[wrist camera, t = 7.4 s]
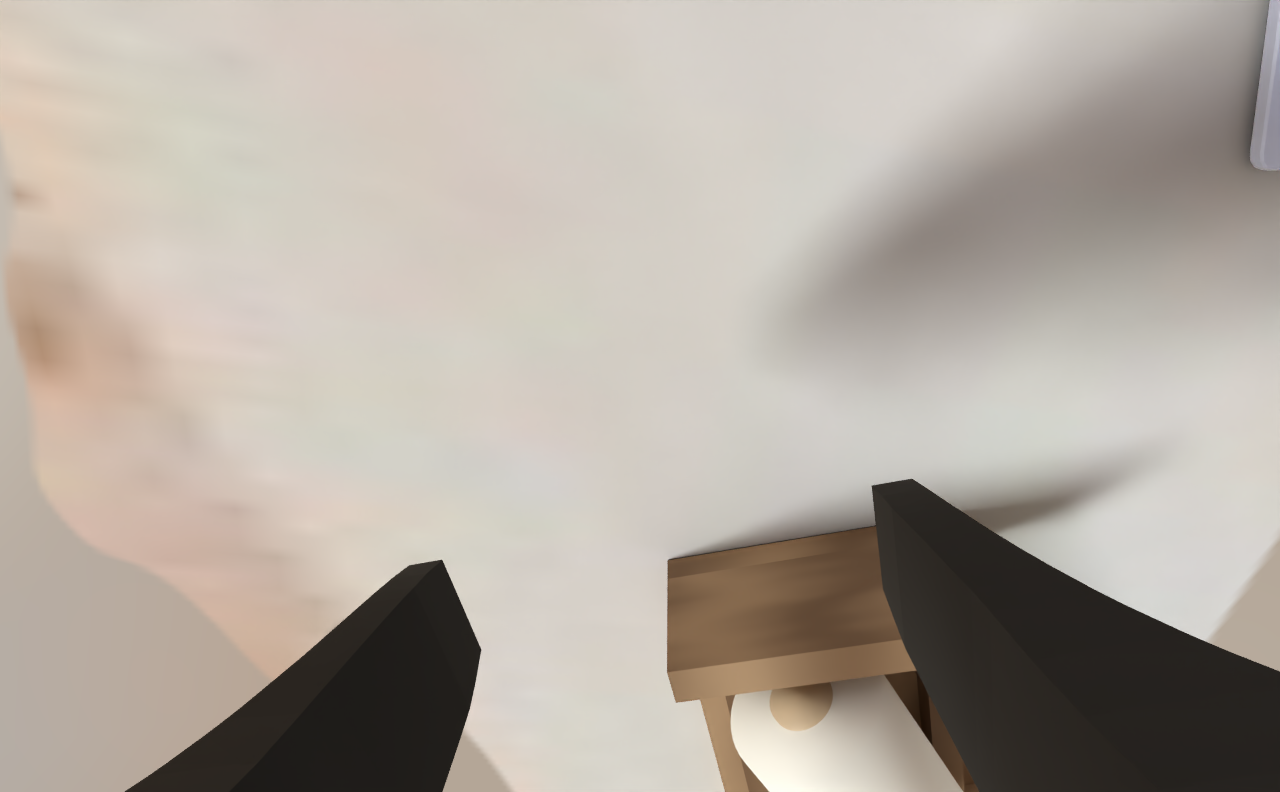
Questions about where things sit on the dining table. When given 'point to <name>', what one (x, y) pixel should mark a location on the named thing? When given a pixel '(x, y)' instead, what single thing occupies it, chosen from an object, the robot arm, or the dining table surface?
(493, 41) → the dining table surface
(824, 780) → the roll
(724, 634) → the holder
